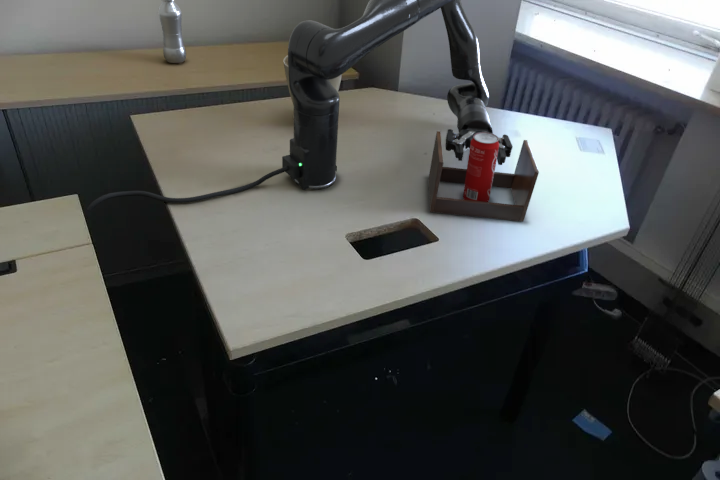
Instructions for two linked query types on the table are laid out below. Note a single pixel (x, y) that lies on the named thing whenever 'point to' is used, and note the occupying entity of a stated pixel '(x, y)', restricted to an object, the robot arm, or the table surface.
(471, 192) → the beverage can
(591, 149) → the table surface
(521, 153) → the walnut crate
